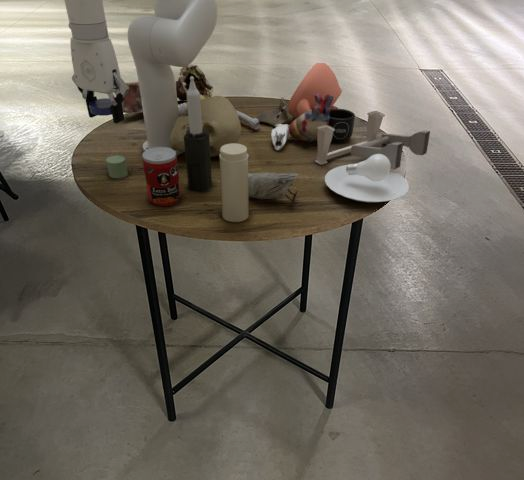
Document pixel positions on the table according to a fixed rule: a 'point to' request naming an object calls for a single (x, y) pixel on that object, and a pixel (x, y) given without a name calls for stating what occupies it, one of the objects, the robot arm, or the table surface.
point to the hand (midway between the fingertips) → (106, 118)
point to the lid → (101, 107)
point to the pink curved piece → (314, 89)
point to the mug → (341, 124)
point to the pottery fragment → (274, 115)
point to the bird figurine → (280, 135)
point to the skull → (211, 125)
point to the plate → (366, 186)
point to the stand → (117, 166)
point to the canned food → (162, 176)
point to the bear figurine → (199, 80)
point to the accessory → (306, 145)
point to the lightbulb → (371, 167)
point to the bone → (249, 120)
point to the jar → (234, 182)
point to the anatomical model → (312, 119)
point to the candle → (197, 144)
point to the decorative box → (132, 99)
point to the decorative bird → (270, 185)
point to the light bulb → (185, 107)
